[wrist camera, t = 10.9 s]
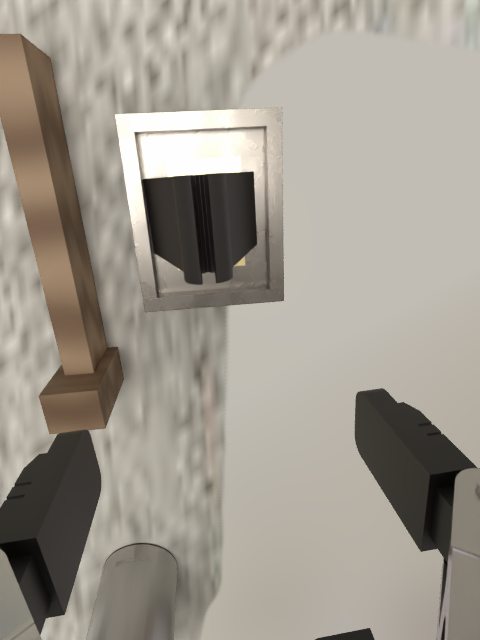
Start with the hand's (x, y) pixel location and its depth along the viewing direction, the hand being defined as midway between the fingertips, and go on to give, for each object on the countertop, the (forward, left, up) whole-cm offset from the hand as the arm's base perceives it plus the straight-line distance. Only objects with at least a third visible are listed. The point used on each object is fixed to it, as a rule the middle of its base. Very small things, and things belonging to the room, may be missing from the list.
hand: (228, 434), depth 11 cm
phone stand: (+4, 0, -24) cm, 24 cm away
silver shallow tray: (+4, 0, -25) cm, 26 cm away
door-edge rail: (+2, +12, -25) cm, 28 cm away
